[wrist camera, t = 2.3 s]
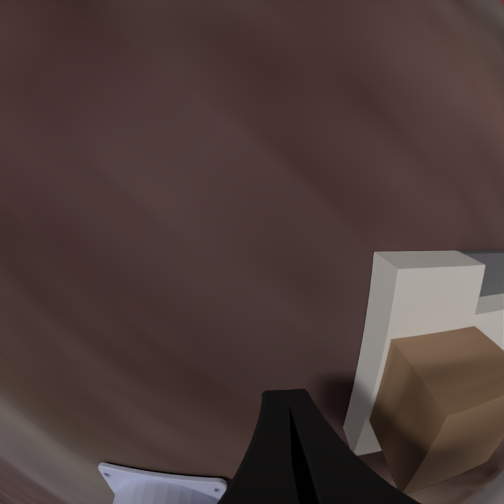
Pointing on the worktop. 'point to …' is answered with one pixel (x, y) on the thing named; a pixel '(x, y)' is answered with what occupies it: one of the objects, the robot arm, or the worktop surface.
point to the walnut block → (439, 406)
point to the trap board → (421, 315)
